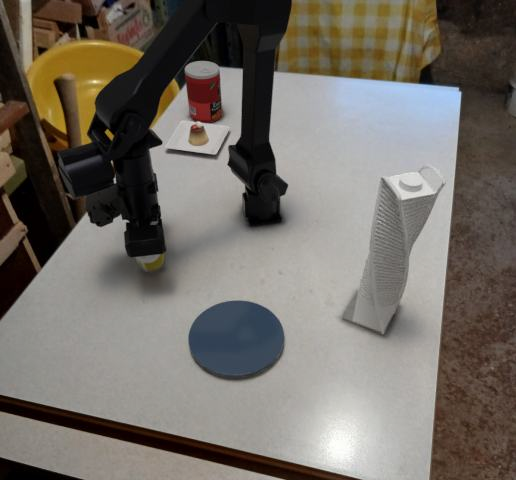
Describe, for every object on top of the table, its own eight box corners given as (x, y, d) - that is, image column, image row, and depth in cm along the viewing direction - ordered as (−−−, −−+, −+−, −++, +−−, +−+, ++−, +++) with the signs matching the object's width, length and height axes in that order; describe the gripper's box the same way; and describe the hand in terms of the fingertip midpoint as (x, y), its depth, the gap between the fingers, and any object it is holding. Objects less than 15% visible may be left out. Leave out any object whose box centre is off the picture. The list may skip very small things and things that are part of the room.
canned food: (218, 125, 120) (214, 77, 111) (185, 121, 121) (179, 74, 112) (225, 109, 125) (223, 62, 116) (194, 105, 126) (189, 59, 117)
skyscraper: (406, 310, 84) (458, 158, 62) (389, 343, 80) (438, 194, 58) (359, 292, 87) (392, 140, 65) (340, 324, 82) (369, 173, 60)
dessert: (164, 152, 113) (161, 131, 109) (182, 124, 120) (179, 104, 116) (216, 159, 111) (214, 138, 107) (230, 130, 118) (229, 110, 114)
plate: (271, 299, 86) (271, 293, 85) (294, 370, 77) (294, 365, 76) (183, 314, 84) (182, 308, 83) (196, 388, 75) (195, 383, 74)
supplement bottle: (169, 253, 91) (164, 237, 82) (158, 277, 90) (152, 263, 81) (144, 243, 90) (136, 226, 82) (133, 266, 90) (124, 251, 81)
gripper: (81, 144, 82) (102, 219, 95) (81, 220, 72) (105, 293, 85) (150, 138, 84) (162, 213, 97) (159, 212, 73) (171, 284, 86)
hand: (149, 249), depth 91 cm, fingers closed, pressing on supplement bottle
